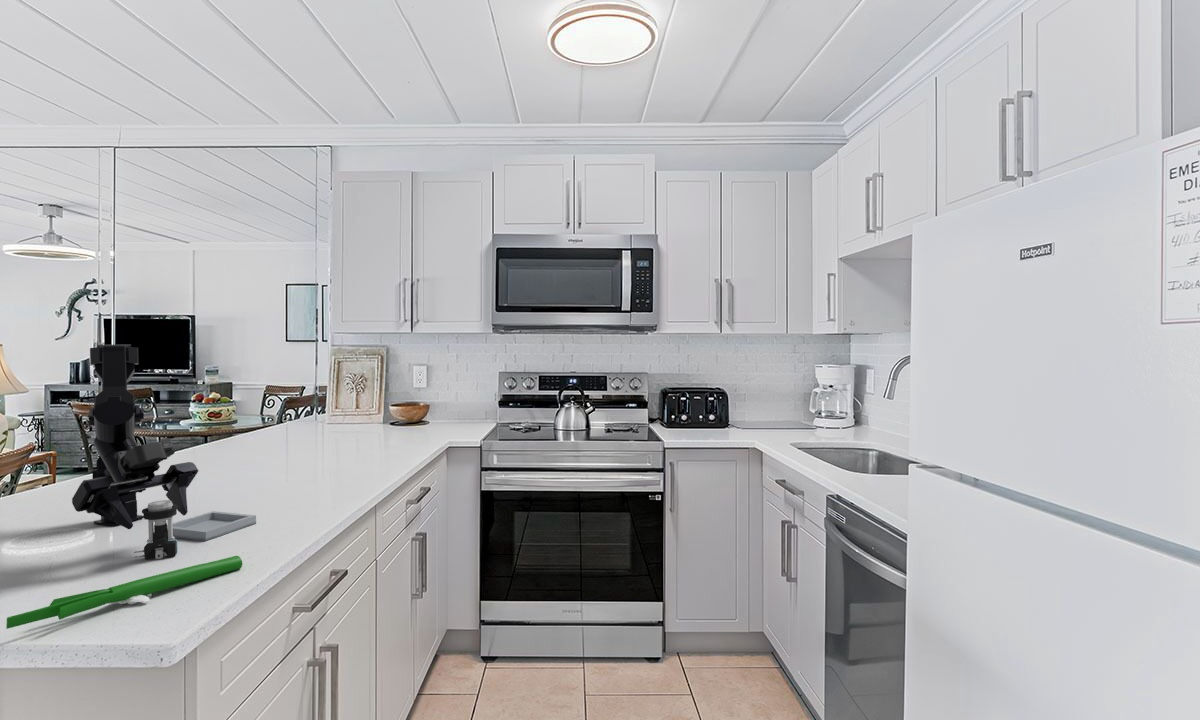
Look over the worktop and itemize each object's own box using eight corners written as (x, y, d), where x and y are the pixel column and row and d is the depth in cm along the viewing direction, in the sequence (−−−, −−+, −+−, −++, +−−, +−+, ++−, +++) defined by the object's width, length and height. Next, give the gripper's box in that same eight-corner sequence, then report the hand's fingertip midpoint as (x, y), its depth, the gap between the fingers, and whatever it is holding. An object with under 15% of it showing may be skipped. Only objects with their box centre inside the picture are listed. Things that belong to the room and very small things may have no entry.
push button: (130, 565, 107) (129, 508, 107) (138, 555, 112) (136, 501, 112) (175, 559, 110) (174, 504, 110) (181, 550, 115) (180, 497, 115)
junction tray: (160, 535, 123) (160, 527, 123) (213, 519, 135) (212, 511, 135) (206, 541, 120) (205, 532, 120) (256, 523, 132) (256, 515, 132)
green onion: (230, 571, 107) (-1, 634, 81) (231, 553, 107) (0, 609, 81) (246, 577, 104) (13, 643, 78) (247, 558, 104) (15, 618, 78)
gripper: (78, 434, 104) (118, 505, 99) (191, 421, 121) (229, 481, 116) (55, 476, 107) (92, 546, 103) (168, 457, 124) (203, 517, 120)
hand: (159, 520), depth 110 cm, fingers open, 9 cm apart
